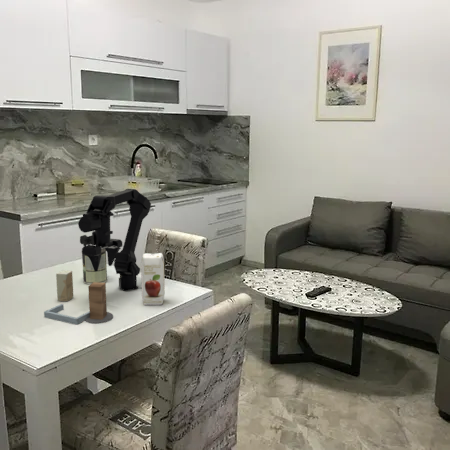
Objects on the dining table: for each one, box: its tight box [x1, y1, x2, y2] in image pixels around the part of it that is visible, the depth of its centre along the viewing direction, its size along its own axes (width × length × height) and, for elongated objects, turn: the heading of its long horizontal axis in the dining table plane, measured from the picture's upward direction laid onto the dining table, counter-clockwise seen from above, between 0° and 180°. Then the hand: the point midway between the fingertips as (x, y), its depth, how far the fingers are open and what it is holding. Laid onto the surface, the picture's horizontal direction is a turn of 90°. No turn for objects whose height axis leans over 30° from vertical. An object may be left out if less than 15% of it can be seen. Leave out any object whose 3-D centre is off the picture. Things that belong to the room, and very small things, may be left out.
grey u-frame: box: [43, 303, 90, 325], centre depth 173 cm, size 8×15×2 cm, turn 65°
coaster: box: [84, 311, 114, 324], centre depth 172 cm, size 10×10×1 cm
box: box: [55, 269, 74, 302], centre depth 189 cm, size 5×4×11 cm
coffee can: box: [81, 249, 108, 286], centre depth 211 cm, size 10×10×14 cm
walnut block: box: [87, 282, 108, 320], centre depth 171 cm, size 4×4×12 cm
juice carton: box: [140, 252, 166, 306], centre depth 186 cm, size 8×9×19 cm
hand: (103, 268), depth 187 cm, fingers open, 9 cm apart
